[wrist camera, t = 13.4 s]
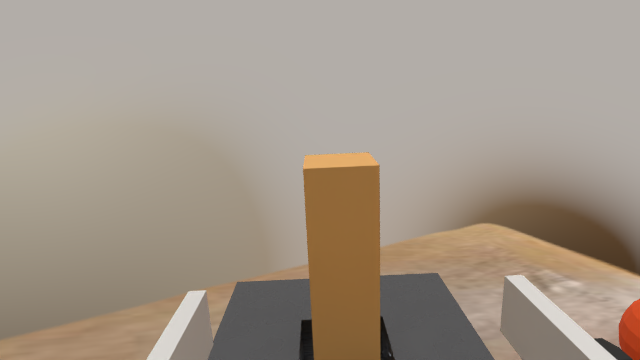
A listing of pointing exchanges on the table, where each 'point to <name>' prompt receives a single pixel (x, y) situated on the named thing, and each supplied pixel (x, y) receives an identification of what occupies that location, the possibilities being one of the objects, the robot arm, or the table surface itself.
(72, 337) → the table surface
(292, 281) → the block with square hole
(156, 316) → the table surface
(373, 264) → the orange square prism
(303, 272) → the table surface
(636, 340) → the clementine
